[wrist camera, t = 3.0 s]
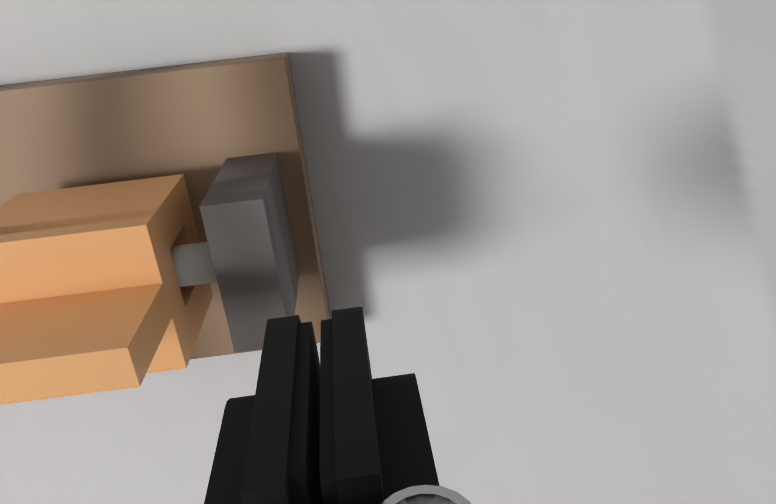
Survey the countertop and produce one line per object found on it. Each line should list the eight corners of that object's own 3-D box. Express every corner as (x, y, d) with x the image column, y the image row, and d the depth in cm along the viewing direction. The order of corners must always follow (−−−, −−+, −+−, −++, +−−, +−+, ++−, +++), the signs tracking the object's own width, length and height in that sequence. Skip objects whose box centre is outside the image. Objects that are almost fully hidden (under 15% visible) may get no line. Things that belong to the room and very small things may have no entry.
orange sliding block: (183, 173, 19) (105, 280, 13) (213, 295, 21) (158, 443, 14) (17, 193, 19) (-150, 311, 12) (60, 314, 21) (-65, 473, 14)
